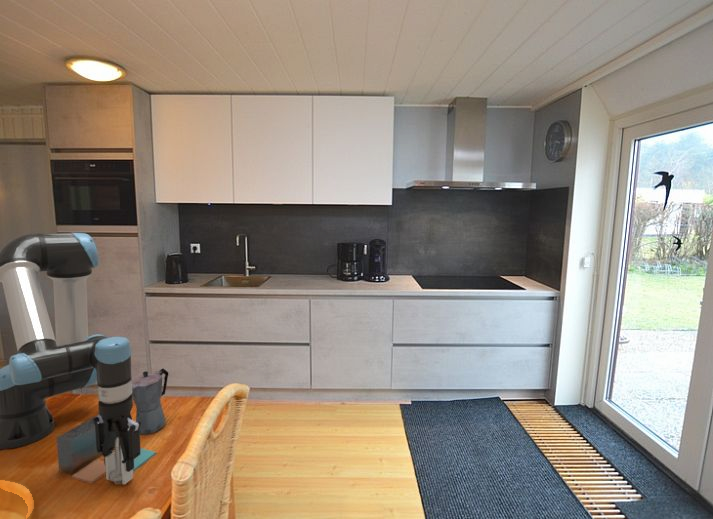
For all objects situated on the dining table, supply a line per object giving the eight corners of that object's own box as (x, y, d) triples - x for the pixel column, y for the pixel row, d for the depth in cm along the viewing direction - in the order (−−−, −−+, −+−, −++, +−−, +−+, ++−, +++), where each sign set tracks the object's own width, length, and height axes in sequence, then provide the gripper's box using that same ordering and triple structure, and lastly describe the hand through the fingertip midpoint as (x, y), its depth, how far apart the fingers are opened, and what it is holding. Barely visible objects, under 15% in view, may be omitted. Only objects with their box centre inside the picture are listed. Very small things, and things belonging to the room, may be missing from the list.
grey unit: (57, 470, 102) (55, 437, 101) (104, 441, 116) (102, 411, 115) (72, 474, 101) (70, 440, 100) (117, 444, 114) (116, 414, 113)
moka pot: (120, 437, 118) (116, 377, 116) (156, 412, 133) (154, 359, 131) (144, 442, 116) (142, 382, 113) (179, 416, 131) (177, 362, 128)
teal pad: (111, 465, 105) (111, 463, 105) (134, 448, 113) (134, 446, 113) (133, 471, 103) (133, 469, 103) (156, 453, 111) (156, 451, 111)
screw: (134, 478, 100) (116, 490, 96) (123, 472, 103) (105, 483, 98) (132, 434, 99) (113, 443, 95) (121, 428, 101) (102, 438, 97)
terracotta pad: (72, 478, 100) (71, 476, 100) (96, 461, 107) (96, 459, 106) (92, 483, 98) (92, 481, 98) (115, 466, 105) (115, 464, 105)
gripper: (75, 398, 95) (80, 481, 98) (130, 410, 91) (134, 496, 93) (102, 385, 102) (106, 462, 105) (154, 395, 98) (157, 476, 101)
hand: (119, 478), depth 99 cm, fingers closed on screw, 5 cm apart
